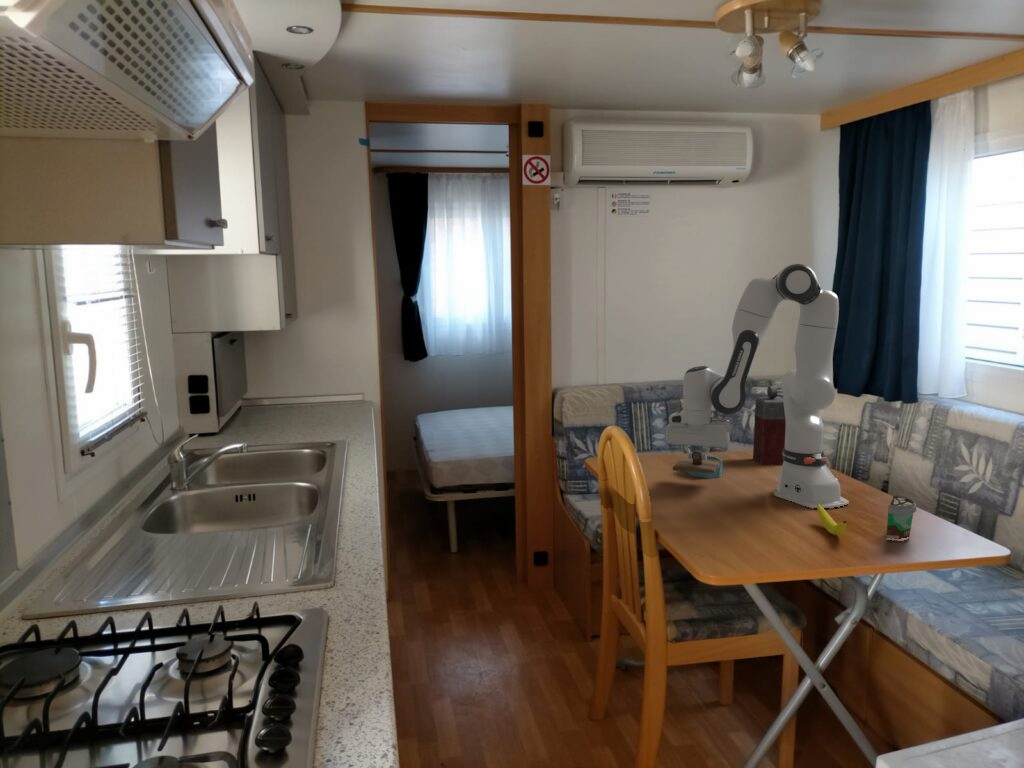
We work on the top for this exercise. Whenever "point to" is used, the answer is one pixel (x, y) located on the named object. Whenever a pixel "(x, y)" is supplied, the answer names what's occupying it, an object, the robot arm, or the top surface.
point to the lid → (697, 464)
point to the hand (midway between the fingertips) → (697, 458)
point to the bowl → (709, 475)
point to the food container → (900, 516)
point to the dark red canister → (769, 429)
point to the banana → (830, 522)
